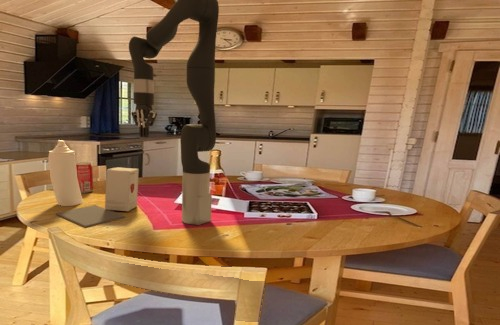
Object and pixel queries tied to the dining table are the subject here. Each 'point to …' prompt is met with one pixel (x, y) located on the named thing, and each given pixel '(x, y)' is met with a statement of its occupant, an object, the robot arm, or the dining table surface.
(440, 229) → the dining table surface
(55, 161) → the white bottle
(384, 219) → the dining table surface
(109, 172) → the supplement box
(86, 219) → the mat
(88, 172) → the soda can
